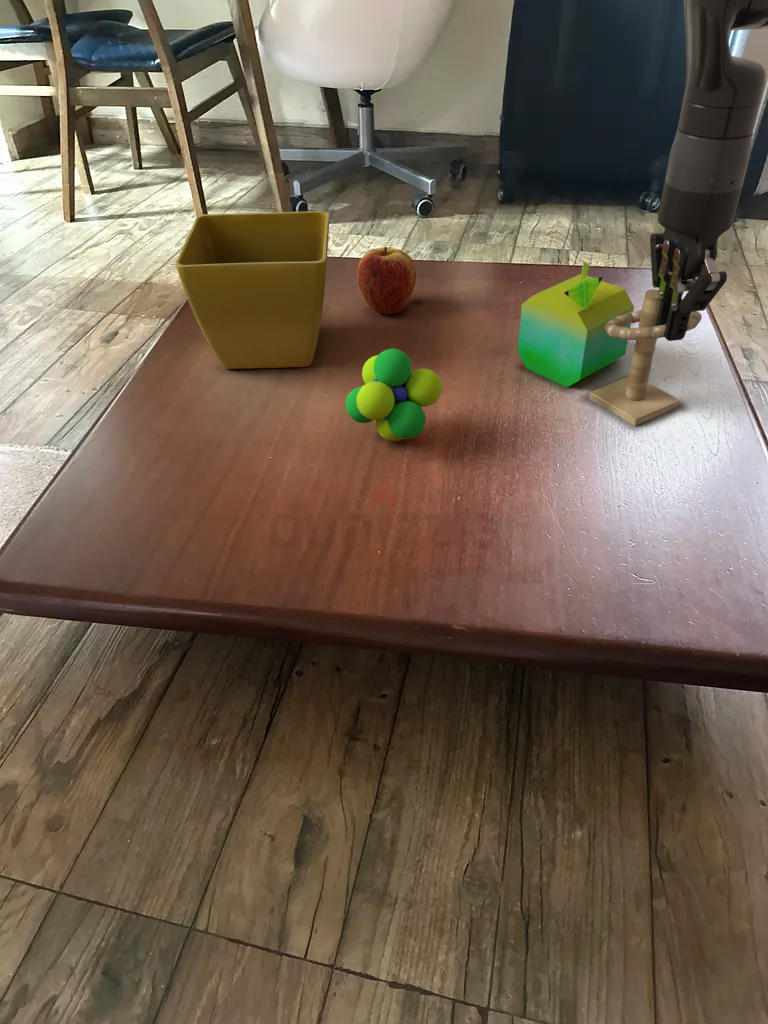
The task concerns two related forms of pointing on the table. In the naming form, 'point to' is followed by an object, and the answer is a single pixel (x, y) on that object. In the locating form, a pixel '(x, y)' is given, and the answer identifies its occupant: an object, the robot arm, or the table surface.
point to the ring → (642, 333)
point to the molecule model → (394, 395)
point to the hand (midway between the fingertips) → (669, 333)
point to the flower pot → (257, 285)
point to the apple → (386, 279)
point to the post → (638, 378)
